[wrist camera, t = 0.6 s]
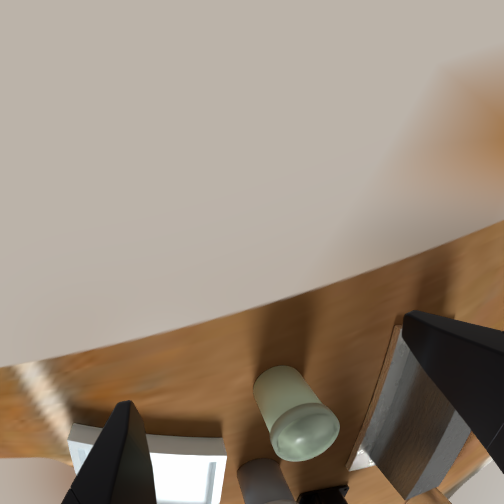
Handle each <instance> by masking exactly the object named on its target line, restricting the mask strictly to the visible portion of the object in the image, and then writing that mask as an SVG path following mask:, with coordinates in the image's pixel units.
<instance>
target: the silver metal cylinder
mask: <svg viewBox="0 0 504 504" xmlns="http://www.w3.org/2000/svg"><path fill="white" fill-rule="evenodd" d="M406 504H452V503H451V502H450V501H449V500H448V499H447V498H446V497H445V496H444V495H443V494H442V493H441V492H440V491H439V490H438V489H437V488H436V487H435V488H433V489H431V490H429V491H427V492H424V493H422V494H420V495H417V496H415V497H412V498H410V499H409V500H408V501H407V502H406Z"/></svg>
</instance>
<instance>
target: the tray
mask: <svg viewBox="0 0 504 504" xmlns="http://www.w3.org/2000/svg"><path fill="white" fill-rule="evenodd" d="M102 429H103V428H98V427H92V426H86V425H81V424H76V423H73V426H72V428H71V431H70V434H69V437H68V439H67V441H68V445H69V450H70V454H71V458H72V461H73V465H74V469H75V472H76V475H77V474H78V472H79V470H80V468H81V466H82V465H83V463H84V461H85V459H86V457H87V456H88V454H89V452H90V450H91V448H92V447H93V445H94V443H95V441H96V440H97V438H98V436H99V434H100V433H101V431H102ZM146 438H147V443H148V447H149V452H150V457H151V461H152V466H153V474H154V483H155V492H156V500H157V504H219V502H220V496H221V490H222V484H223V478H224V471H225V465H226V459H227V454H226V450H225V446H224V442H223V438H204V437H180V436H165V435H153V434H146Z"/></svg>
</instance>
